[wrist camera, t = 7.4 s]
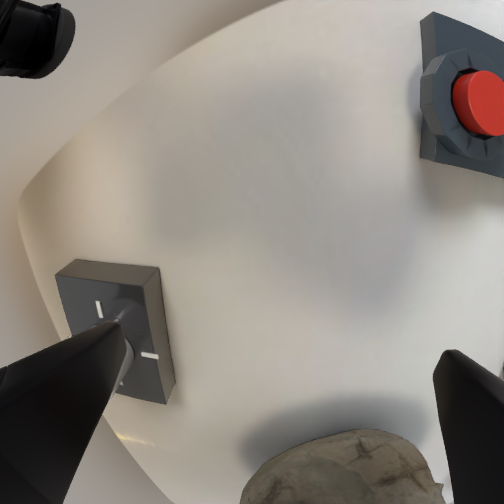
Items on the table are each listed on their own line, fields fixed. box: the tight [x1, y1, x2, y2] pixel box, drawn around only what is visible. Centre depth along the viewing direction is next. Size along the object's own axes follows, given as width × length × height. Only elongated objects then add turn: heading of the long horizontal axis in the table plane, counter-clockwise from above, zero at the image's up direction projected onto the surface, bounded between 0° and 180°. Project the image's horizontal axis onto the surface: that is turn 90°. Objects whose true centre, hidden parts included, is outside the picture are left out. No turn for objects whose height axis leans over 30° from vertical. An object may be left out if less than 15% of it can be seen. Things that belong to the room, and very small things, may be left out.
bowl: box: [240, 429, 446, 504], centre depth 22 cm, size 22×22×15 cm
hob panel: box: [55, 260, 175, 405], centre depth 23 cm, size 12×9×3 cm
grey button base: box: [420, 12, 504, 178], centre depth 13 cm, size 10×10×4 cm
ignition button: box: [453, 71, 504, 136], centre depth 11 cm, size 4×4×2 cm
